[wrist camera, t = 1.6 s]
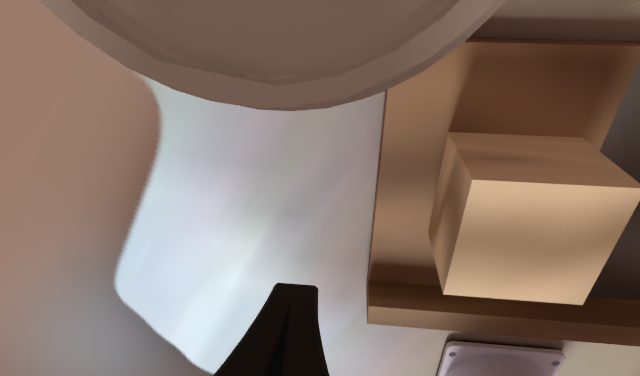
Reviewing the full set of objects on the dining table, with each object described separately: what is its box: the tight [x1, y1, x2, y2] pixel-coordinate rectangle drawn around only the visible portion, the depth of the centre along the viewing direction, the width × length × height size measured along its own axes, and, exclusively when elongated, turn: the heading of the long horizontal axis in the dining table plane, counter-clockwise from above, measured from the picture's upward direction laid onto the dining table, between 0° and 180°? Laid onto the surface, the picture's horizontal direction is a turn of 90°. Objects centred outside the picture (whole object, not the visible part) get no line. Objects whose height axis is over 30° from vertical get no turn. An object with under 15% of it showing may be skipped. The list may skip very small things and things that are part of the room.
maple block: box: [428, 132, 640, 305], centre depth 17 cm, size 6×6×4 cm
